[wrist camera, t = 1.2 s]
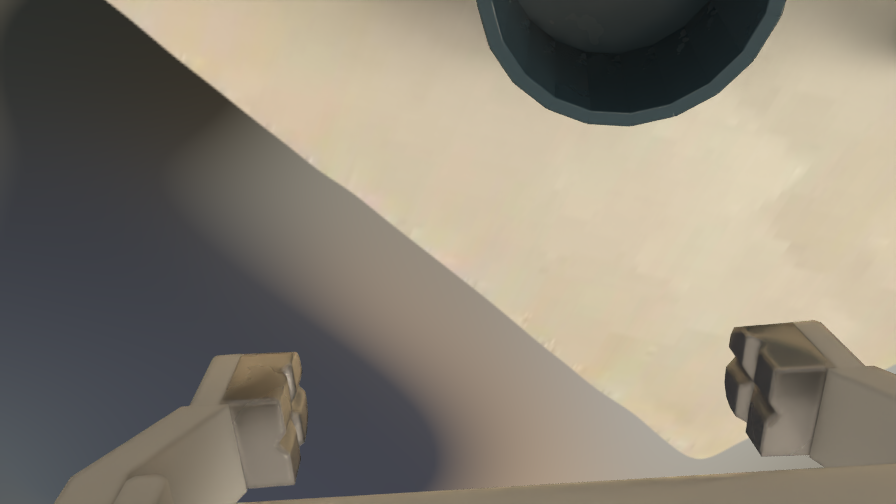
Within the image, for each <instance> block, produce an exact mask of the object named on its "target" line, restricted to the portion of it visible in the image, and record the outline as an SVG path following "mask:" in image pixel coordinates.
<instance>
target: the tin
mask: <svg viewBox="0 0 896 504" xmlns="http://www.w3.org/2000/svg"><path fill="white" fill-rule="evenodd" d="M476 2H477V7H478V10H479V14H480V17H481V21H482V24H483V28H484V31H485V35H486V38H487V42H488V45H489V46H490V49H491V51H492V52H493V54H494V55H495V57H496V58H497V60H498V61H499V63H500V64H501V66H502V67H503V69H504V70H505V72H506V73H507V75H508V76H509V78H510V79H511V81H512V82H513V83H514V84H515V85H517V86H518V87H519V88H520V89H522V90H523V91H524V92H526V93H527V94H528V95H529V96H531V97H532V98H533V99H535V100H536V101H537V102H538V103H540V104H541V105H542V106H544V107H545V108H548V110H551V111H553V112H556V113H559V114H562V115H564V116H567V117H570V118H573V119H575V120H578V121H581V122H583V123H587V124H597V125H614V126H630V125H631V126H634V125H639V124H643V123H648V122H652V121H657V120H661V119H666V118H670V117H674V116H677V115H679V114H681V113H683V112H685V111H687V110H689V109H691V108H693V107H694V106H696V105H698V104H700V103H702V102H704V101H706V100H708V99H710V98H712V97H713V96H715V95H717V94H718V93H719V92H721V91H722V90H723V89H724V88H725V87H726V86H727V85H728V84H729V83H730V82H731V81H732V80H734V79H735V78H736V77H737V76H738V75H739V74H740V73H741V72H742V71H743V70H744V69H745V68H746V67H748V66H749V65H750V64H751V63H752V62H753V61H754V59H755V58H756V56H757V55H758V53H759V51H760V50H761V48H762V47H763V45H764V43H765V42H766V40H767V39H768V37H769V35H770V34H771V32H772V31H773V29H774V27H775V26H776V24H777V22H778V21H779V19H780V17H781V15H782V13H783V10H784V6H785V2H786V0H476Z"/></svg>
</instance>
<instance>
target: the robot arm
mask: <svg viewBox="0 0 896 504" xmlns="http://www.w3.org/2000/svg"><path fill="white" fill-rule="evenodd" d="M729 348H730V349H731V350H732V352H733V353H734V355H735V356H736V357H735V358H734V359H733V360H732V361H731V362H730V363H729V364H728V366H727V367H726V373H725V390H726V397H727V400H728V403H729V405H730V408H731V409H732V411H733V413H734V414H735V416H736V417H738V418H740V419H742V420H743V421H745V422H747V427H746V433H747V435H748V436H749V438H750V439H751V441H752V443H753V444H754V446H755V447H756V449H757V450H758V452H759V453H760V455H761V456H794V455H810V458H812V459H813V460H815V461H816V462H818V463H819V464H821V465H822V466H823V467H825V468H808V469H792V470H775V471H759V472H744V473H743V472H742V473H726V474H710V475H693V476H677V477H660V478H643V479H627V480H611V481H594V482H578V483H560V484H544V485H529V486H528V485H527V486H511V487H494V488H478V489H461V490H444V491H428V492H412V493H395V494H378V495H361V496H345V497H329V498H312V499H296V500H278V501H262V502H246V503H236V502H237V501H238V500H239V499H240V498H241V497H242V496H243V495H244V494H245V493H246V492H247V489H249V488H261V487H272V486H284V485H295V481H296V477H297V473H298V469H299V464H300V460H301V456H300V450H299V446H300V445H301V444H303V443H304V442H305V438H306V433H307V422H308V410H307V400H306V393H305V391H304V390H303V389H302V388H301V387H300V386H299V382H300V378H301V374H302V368H301V363H300V358H299V355H298V354H297V352H282V353H259V354H258V353H257V354H244V355H243V354H231V355H218V356H216V357H214V358H213V359H212V361H211V363H210V365H209V367H208V369H207V371H206V373H205V375H204V377H203V379H202V381H201V384H200V385H199V387H198V390H197V391H196V393H195V396H194V398H193V400H192V402H191V404H190V406H187V407H186V406H185V407H180V408H179V409H177V410H175V411H174V412H172V413H171V414H169V415H168V416H166V417H164V418H163V419H161V420H160V421H158V422H157V423H155V424H154V425H152V426H150V427H149V428H147V429H146V430H144V431H143V432H141V433H139V434H138V435H136V436H135V437H134V438H132V439H130V440H129V441H127V442H126V443H124V444H122V445H121V446H119V447H118V448H116V449H114V450H113V451H111V452H110V453H108V454H107V455H105V456H103V457H102V458H100V459H99V460H97V461H96V462H94V463H92V464H91V465H89V466H88V467H86V468H85V469H83V470H81V471H80V472H78V473H77V474H75V475H74V476H72V477H71V478H70V479H69V481H68V482H67V484H66V485H65V487H64V489H63V490H62V492H61V493H60V495H59V496H58V498H57V499H56V501H55V503H54V504H896V374H893V373H891V372H888V371H886V370H883V369H881V368H878V367H876V366H865V365H864V364H863V363H862V362H861V361H860V360H859V359H858V358H857V357H856V356H855V355H854V354H853V353H852V352H851V351H850V350H849V349H848V348H847V347H846V346H845V345H843V344H842V343H841V342H840V341H839V340H838V339H837V338H836V337H835V336H834V335H833V334H832V333H831V332H830V331H829V330H828V329H827V328H826V327H825V326H824V325H823V324H822V323H821V322H818V321H815V320H811V321H801V322H790V323H780V324H768V325H756V326H744V327H734V329H733V331H732V333H731V337H730V343H729Z"/></svg>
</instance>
